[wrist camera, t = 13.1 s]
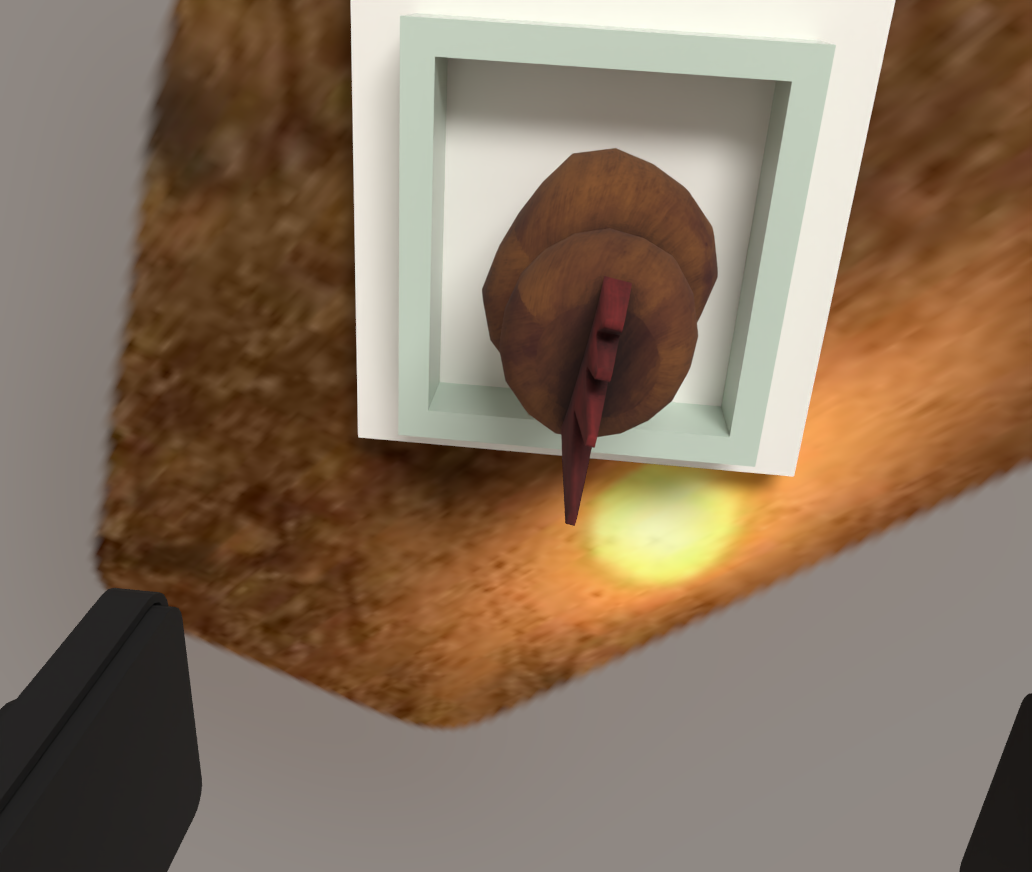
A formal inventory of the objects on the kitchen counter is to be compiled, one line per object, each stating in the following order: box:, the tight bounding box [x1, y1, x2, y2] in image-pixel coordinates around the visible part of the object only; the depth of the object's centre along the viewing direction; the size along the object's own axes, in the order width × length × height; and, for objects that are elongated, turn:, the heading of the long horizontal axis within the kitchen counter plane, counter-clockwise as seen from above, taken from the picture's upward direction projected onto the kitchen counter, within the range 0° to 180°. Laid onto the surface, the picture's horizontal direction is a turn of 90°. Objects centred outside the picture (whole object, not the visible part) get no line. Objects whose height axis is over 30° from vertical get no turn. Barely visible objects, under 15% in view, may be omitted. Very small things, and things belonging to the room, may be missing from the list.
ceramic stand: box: [351, 0, 895, 476], centre depth 31 cm, size 16×16×4 cm
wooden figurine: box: [482, 148, 718, 526], centre depth 24 cm, size 7×6×15 cm
